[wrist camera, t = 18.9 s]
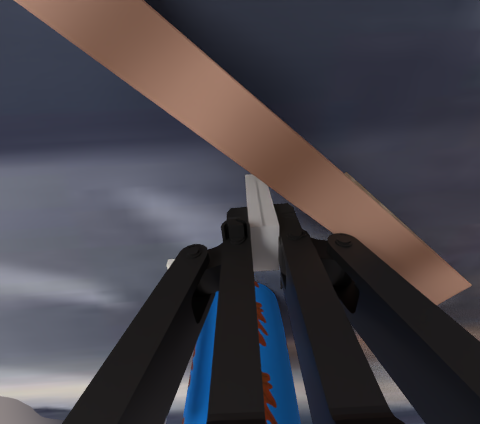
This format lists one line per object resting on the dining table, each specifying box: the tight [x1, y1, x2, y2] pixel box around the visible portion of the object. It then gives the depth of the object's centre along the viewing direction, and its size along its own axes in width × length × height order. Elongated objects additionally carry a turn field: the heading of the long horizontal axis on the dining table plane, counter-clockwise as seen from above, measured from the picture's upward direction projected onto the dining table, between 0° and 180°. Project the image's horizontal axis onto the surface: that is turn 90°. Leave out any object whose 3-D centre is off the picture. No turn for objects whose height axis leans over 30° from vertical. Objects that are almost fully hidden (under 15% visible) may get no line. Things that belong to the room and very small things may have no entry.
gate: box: [14, 0, 472, 305], centre depth 14 cm, size 24×2×12 cm, turn 53°
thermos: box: [182, 281, 301, 424], centre depth 22 cm, size 11×11×25 cm
